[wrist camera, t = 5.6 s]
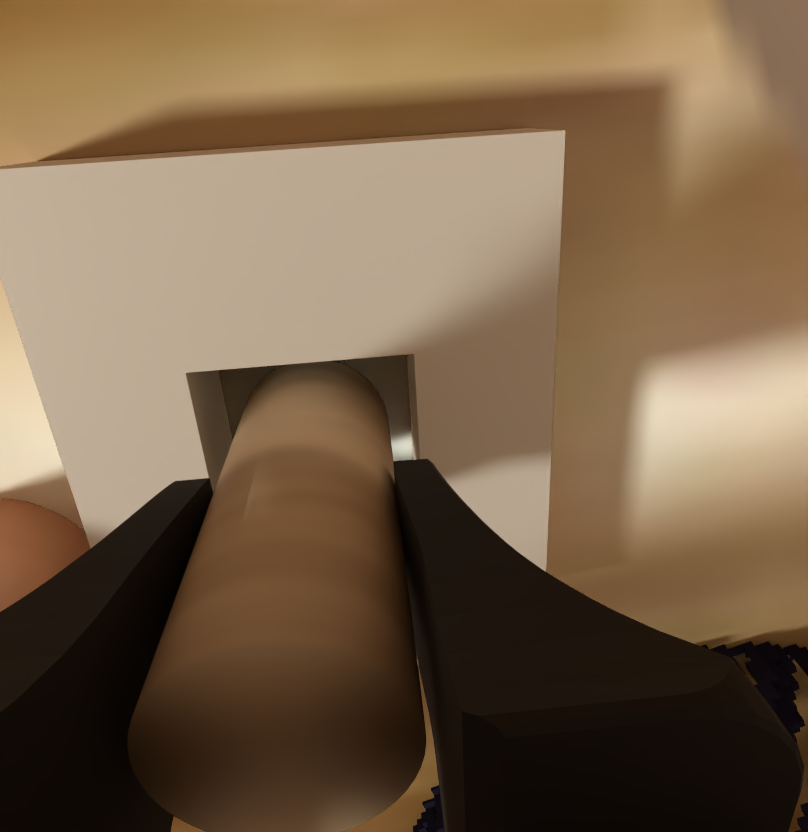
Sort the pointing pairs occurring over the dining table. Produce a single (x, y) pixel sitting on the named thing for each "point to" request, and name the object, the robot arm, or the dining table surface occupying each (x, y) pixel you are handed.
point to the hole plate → (293, 303)
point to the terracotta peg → (34, 547)
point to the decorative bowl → (765, 668)
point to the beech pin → (290, 626)
